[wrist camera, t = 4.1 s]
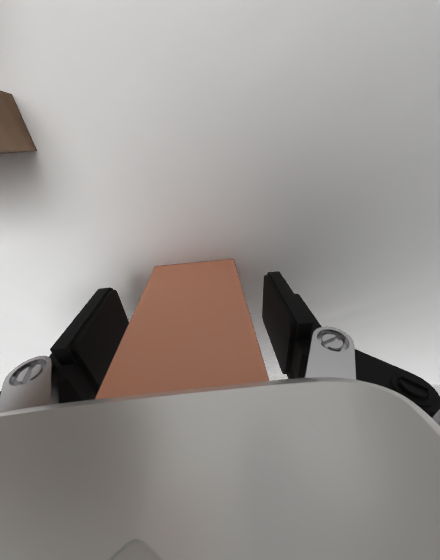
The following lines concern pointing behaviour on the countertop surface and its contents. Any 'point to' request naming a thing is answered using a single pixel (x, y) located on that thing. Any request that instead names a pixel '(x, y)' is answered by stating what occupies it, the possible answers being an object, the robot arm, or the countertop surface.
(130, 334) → the domino
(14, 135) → the domino
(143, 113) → the countertop surface
